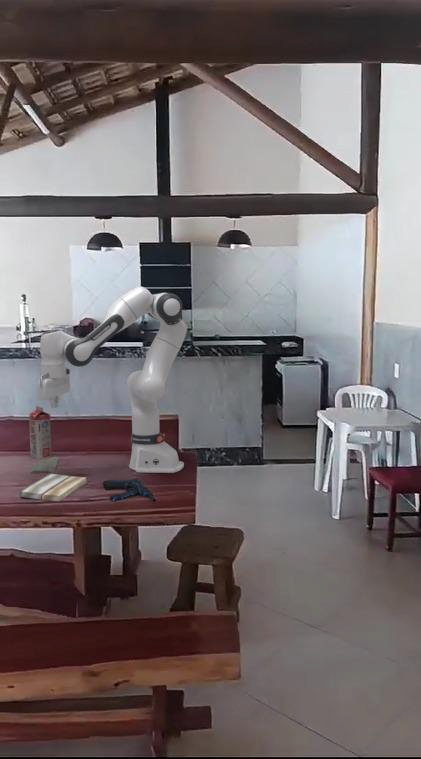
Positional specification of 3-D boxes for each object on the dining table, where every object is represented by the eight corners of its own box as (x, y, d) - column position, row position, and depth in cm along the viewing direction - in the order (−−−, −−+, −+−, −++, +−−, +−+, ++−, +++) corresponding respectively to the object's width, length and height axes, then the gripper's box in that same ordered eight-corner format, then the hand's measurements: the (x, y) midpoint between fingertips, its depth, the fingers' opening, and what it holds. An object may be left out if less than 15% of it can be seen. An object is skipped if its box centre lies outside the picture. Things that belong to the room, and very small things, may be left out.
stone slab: (29, 477, 255) (54, 473, 256) (27, 471, 255) (53, 467, 256) (37, 463, 277) (61, 459, 278) (36, 457, 277) (60, 453, 278)
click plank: (68, 481, 245) (69, 475, 245) (41, 499, 224) (41, 493, 223) (49, 478, 247) (49, 473, 246) (20, 496, 226) (20, 491, 225)
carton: (45, 453, 286) (43, 404, 283) (51, 456, 281) (49, 406, 278) (30, 456, 282) (28, 406, 279) (37, 459, 277) (35, 408, 273)
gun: (116, 510, 217) (158, 503, 223) (116, 502, 216) (158, 495, 223) (98, 487, 238) (137, 482, 244) (97, 480, 238) (136, 475, 244)
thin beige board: (86, 482, 243) (86, 477, 243) (59, 501, 222) (59, 495, 222) (69, 481, 245) (69, 476, 245) (42, 499, 224) (41, 494, 223)
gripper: (47, 376, 236) (49, 413, 238) (72, 369, 256) (73, 403, 258) (32, 375, 237) (33, 412, 239) (57, 368, 257) (58, 402, 259)
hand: (54, 407), depth 249 cm, fingers closed
